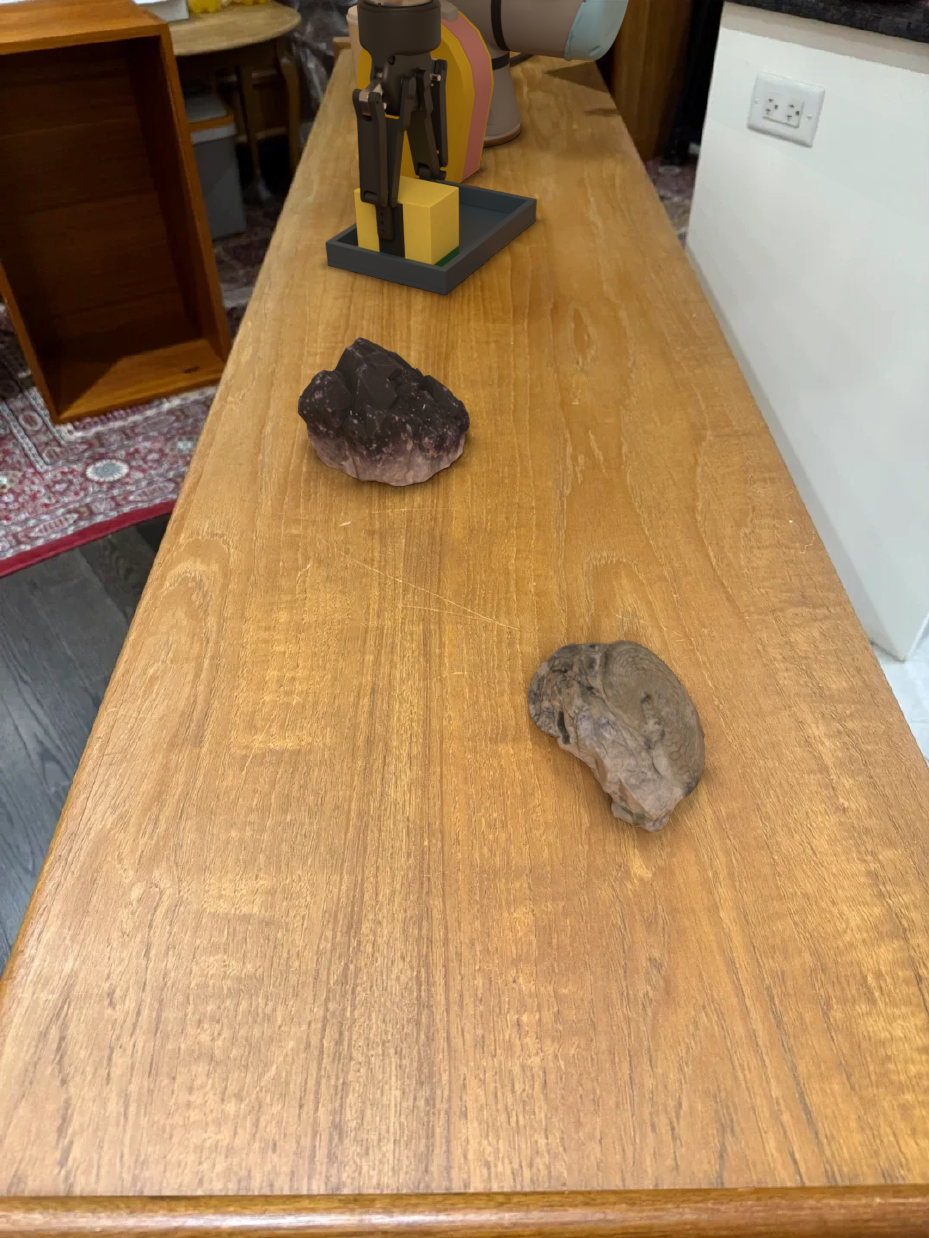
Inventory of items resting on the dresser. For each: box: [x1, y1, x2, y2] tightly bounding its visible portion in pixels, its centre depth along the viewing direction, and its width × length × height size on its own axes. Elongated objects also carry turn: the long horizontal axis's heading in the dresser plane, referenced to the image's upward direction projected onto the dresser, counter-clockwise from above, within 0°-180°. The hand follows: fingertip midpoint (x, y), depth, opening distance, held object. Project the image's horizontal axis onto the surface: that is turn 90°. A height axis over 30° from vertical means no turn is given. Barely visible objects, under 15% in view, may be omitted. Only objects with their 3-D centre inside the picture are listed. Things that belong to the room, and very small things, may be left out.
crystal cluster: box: [297, 336, 471, 487], centre depth 68 cm, size 13×14×10 cm
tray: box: [325, 180, 538, 296], centre depth 98 cm, size 22×15×2 cm
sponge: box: [353, 175, 459, 267], centre depth 92 cm, size 6×9×7 cm, turn 61°
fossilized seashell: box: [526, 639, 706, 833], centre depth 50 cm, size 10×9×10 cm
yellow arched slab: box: [357, 0, 494, 183], centre depth 108 cm, size 15×8×18 cm, turn 63°
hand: (409, 254), depth 95 cm, fingers closed on sponge, 6 cm apart
